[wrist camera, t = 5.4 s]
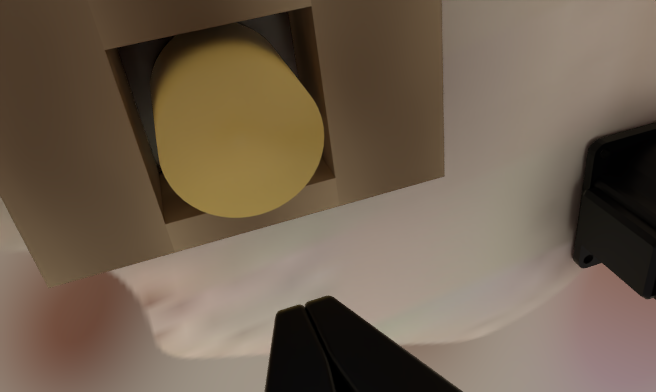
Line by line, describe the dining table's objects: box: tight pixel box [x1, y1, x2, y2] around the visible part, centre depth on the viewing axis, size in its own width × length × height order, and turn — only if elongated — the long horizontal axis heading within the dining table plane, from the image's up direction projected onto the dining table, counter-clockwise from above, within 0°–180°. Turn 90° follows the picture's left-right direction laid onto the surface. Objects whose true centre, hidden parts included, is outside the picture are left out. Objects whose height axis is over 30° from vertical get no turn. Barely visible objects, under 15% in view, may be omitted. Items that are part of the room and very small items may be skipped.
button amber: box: [150, 23, 324, 218], centre depth 15 cm, size 4×4×4 cm
